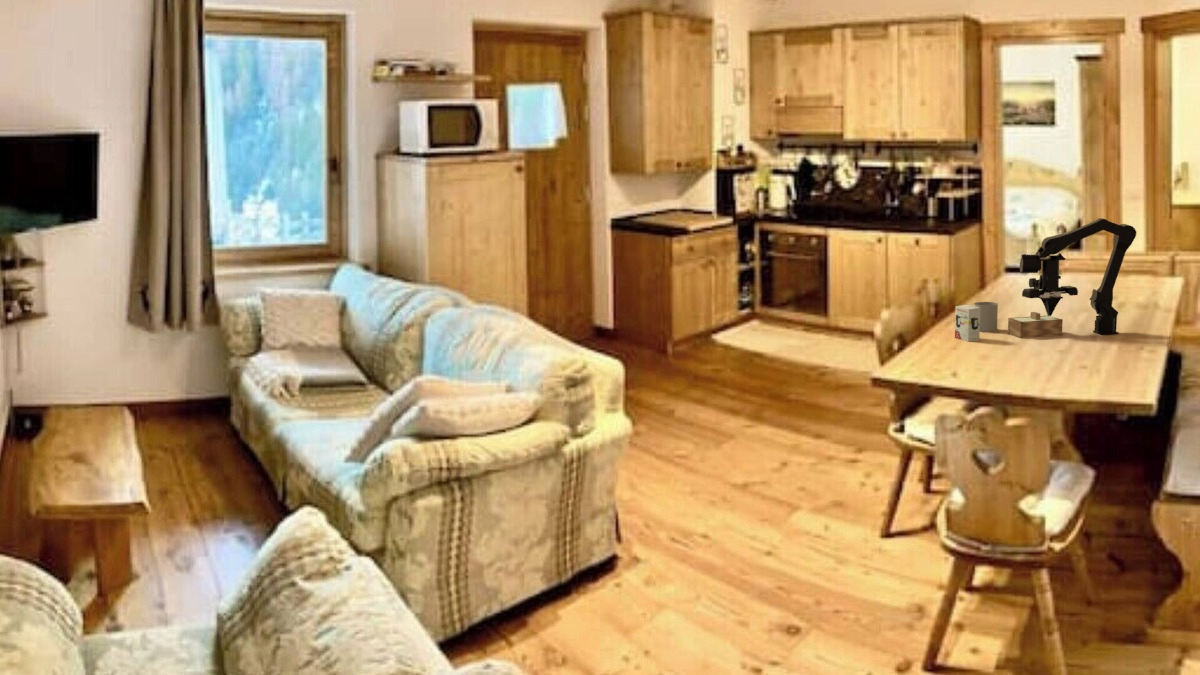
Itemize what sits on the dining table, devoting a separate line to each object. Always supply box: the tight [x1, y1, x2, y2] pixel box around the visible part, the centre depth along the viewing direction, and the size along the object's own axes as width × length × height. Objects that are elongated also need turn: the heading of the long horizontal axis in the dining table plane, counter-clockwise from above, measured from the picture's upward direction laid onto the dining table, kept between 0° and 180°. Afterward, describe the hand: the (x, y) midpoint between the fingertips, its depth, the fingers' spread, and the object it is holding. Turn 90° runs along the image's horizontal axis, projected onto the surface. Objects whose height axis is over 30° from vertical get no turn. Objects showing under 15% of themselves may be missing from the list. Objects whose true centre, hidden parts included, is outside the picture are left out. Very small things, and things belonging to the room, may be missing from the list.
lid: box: [1011, 311, 1060, 322], centre depth 433 cm, size 15×8×3 cm, turn 99°
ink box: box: [954, 304, 981, 342], centre depth 429 cm, size 9×5×12 cm, turn 17°
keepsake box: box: [1007, 315, 1063, 339], centre depth 434 cm, size 16×9×6 cm, turn 99°
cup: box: [973, 301, 999, 333], centre depth 445 cm, size 8×8×10 cm
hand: (1049, 315), depth 434 cm, fingers closed
